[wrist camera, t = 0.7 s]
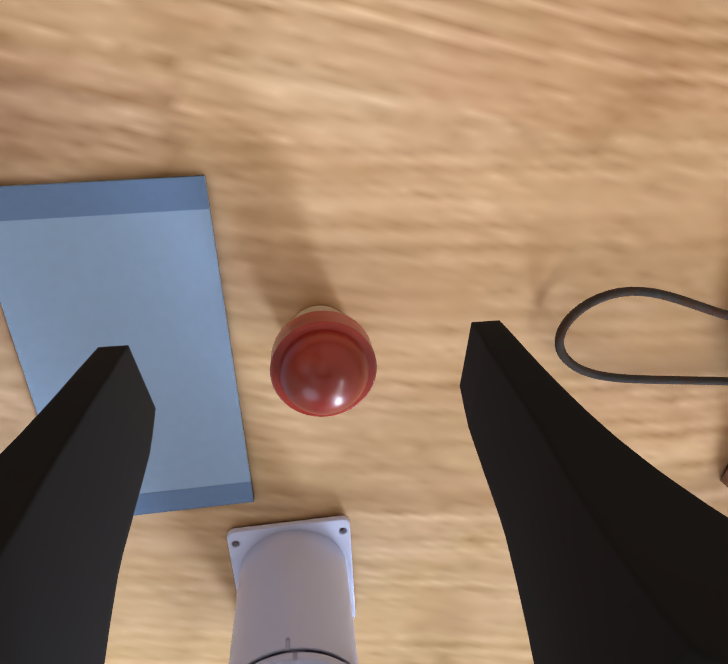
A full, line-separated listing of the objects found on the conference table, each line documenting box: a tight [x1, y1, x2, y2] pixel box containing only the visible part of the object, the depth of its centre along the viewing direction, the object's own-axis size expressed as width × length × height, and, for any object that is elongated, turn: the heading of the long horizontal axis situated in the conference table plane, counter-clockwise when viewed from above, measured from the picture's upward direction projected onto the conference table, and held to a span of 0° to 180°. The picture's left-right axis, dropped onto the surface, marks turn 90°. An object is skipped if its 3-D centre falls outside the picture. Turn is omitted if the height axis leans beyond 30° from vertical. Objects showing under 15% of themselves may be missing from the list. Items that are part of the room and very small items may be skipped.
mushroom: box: [270, 305, 377, 417], centre depth 27 cm, size 5×5×7 cm
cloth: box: [0, 175, 254, 515], centre depth 29 cm, size 20×11×1 cm, turn 2°
